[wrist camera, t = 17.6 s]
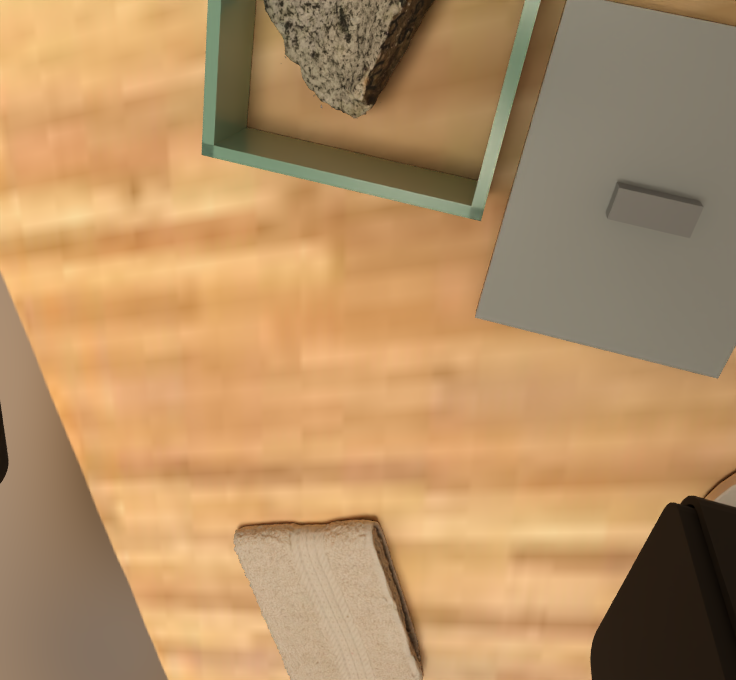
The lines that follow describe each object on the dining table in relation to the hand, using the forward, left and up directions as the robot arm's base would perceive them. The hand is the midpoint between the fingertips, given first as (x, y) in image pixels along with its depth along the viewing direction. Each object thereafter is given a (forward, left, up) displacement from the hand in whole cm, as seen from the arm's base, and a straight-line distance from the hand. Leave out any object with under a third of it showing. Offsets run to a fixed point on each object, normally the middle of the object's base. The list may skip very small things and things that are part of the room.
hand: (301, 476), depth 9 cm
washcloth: (+1, +39, -29) cm, 49 cm away
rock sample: (+7, -3, -29) cm, 30 cm away
